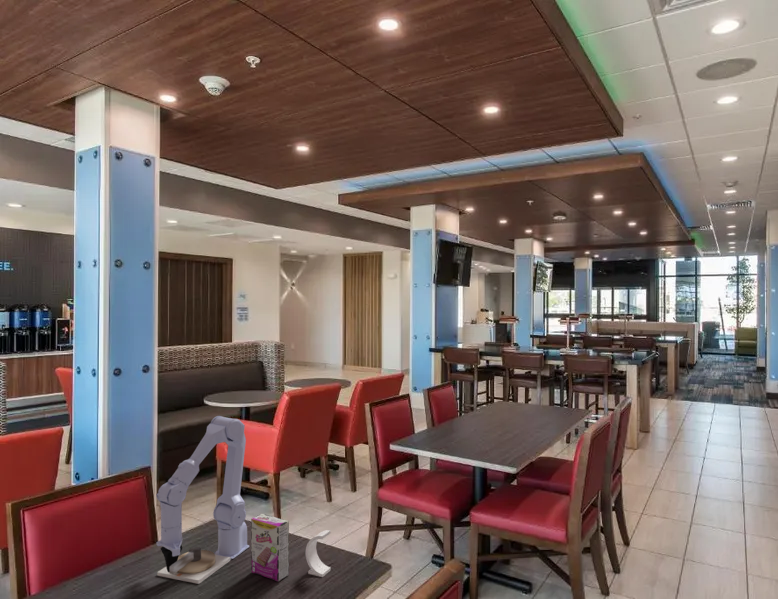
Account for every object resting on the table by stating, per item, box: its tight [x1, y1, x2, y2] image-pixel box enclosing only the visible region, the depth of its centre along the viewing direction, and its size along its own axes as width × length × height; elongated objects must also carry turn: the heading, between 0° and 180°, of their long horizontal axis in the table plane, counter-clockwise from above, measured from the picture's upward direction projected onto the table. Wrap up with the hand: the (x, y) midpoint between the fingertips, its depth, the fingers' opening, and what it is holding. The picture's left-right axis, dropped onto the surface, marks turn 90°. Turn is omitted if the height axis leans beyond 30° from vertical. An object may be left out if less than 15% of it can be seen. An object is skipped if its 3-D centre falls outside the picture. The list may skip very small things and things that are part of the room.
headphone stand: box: [305, 529, 332, 578], centre depth 161 cm, size 5×6×12 cm
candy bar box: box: [250, 513, 290, 582], centre depth 160 cm, size 11×5×16 cm, turn 59°
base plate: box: [156, 555, 231, 585], centre depth 164 cm, size 15×15×1 cm
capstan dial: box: [170, 546, 215, 574], centre depth 162 cm, size 17×12×4 cm
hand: (171, 571), depth 157 cm, fingers closed
